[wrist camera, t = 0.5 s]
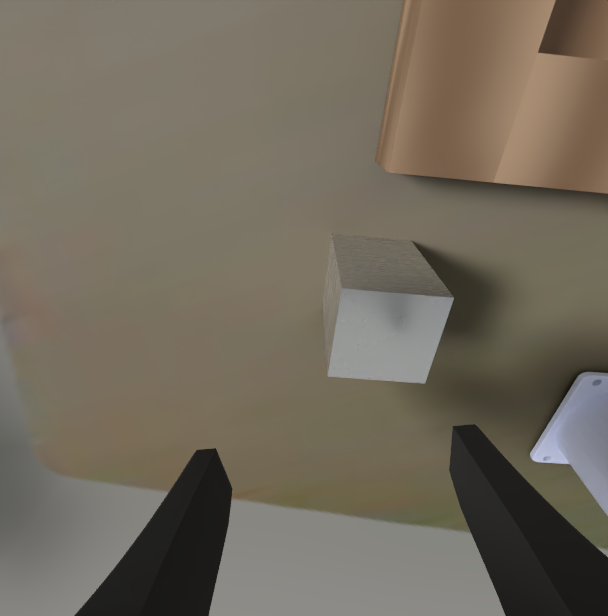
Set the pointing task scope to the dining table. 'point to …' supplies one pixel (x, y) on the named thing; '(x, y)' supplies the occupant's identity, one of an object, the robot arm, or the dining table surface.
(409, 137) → the well block
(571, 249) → the dining table surface
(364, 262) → the grey rectangular block
